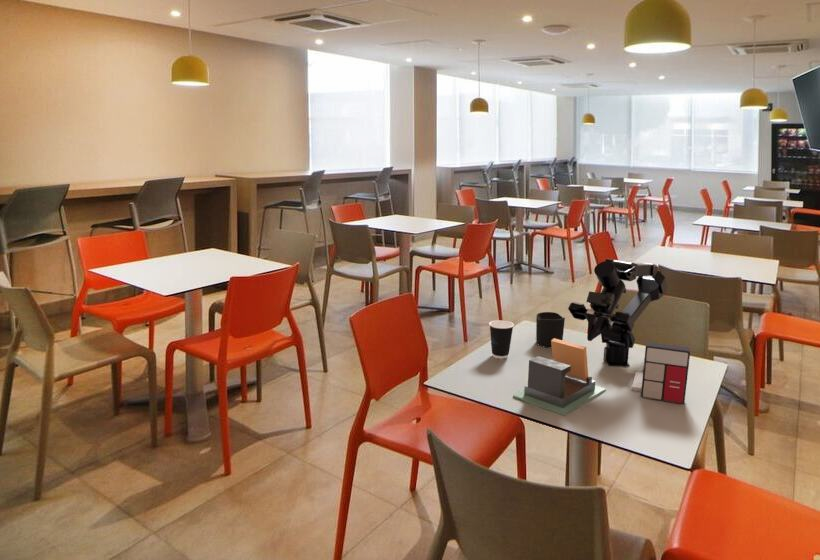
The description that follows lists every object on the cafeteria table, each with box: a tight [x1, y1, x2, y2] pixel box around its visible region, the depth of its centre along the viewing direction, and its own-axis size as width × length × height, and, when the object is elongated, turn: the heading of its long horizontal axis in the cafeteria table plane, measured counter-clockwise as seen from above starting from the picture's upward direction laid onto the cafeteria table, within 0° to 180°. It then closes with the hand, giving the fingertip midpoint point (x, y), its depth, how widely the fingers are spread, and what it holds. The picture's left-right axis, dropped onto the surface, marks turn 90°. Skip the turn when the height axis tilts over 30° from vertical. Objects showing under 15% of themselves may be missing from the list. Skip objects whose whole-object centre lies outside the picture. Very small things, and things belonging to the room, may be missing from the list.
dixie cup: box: [488, 319, 515, 360], centre depth 198 cm, size 8×8×11 cm
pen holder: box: [535, 311, 566, 348], centre depth 210 cm, size 9×9×10 cm
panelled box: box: [640, 342, 691, 405], centre depth 166 cm, size 11×4×15 cm, turn 67°
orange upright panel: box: [551, 338, 589, 382], centre depth 172 cm, size 2×10×11 cm, turn 43°
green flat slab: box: [512, 385, 606, 417], centre depth 171 cm, size 22×16×1 cm
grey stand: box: [523, 355, 596, 408], centre depth 170 cm, size 17×12×10 cm
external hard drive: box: [631, 371, 643, 392], centre depth 178 cm, size 2×8×12 cm
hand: (588, 340), depth 178 cm, fingers closed
